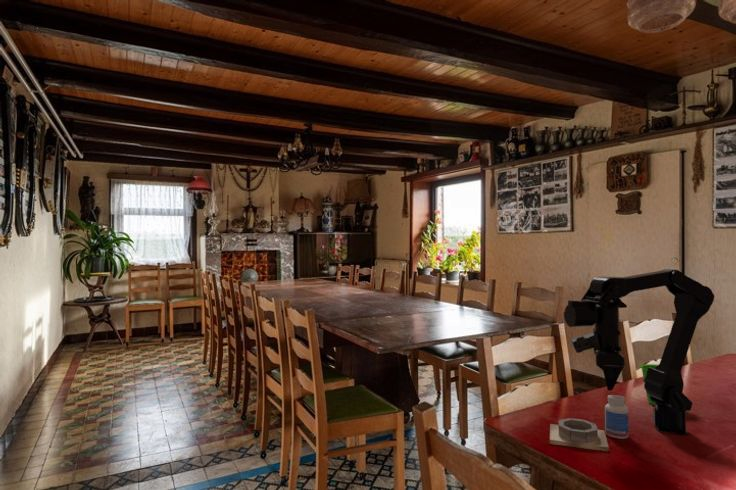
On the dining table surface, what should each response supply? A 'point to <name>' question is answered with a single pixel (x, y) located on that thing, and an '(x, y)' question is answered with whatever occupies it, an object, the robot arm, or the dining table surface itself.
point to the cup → (644, 371)
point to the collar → (578, 434)
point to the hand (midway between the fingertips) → (608, 385)
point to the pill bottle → (616, 417)
